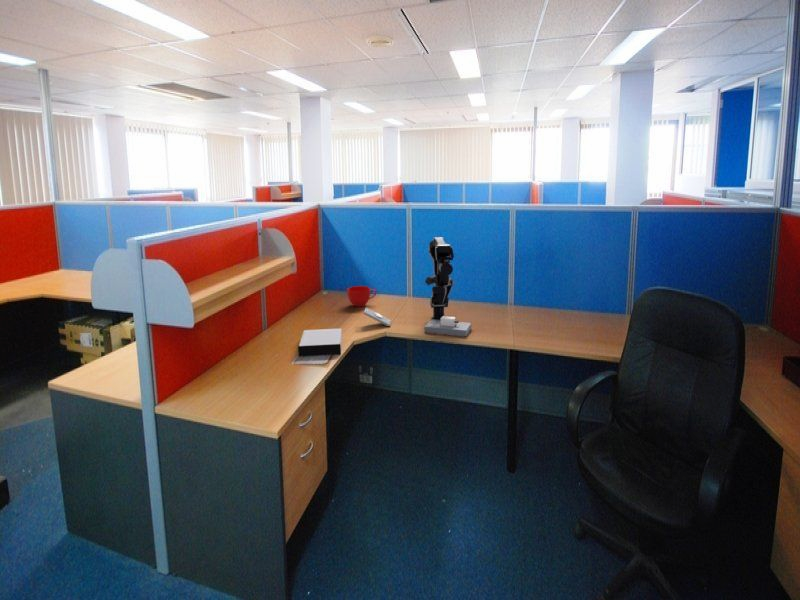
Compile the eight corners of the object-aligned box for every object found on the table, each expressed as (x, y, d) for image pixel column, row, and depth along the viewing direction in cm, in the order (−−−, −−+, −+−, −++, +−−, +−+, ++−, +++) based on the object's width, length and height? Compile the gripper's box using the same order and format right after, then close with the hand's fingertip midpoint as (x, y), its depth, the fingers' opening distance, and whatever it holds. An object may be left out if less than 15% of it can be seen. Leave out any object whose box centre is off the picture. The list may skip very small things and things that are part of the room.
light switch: (391, 323, 237) (364, 310, 235) (385, 333, 238) (359, 320, 237) (392, 318, 245) (366, 305, 244) (386, 328, 246) (361, 315, 245)
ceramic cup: (379, 306, 274) (379, 289, 271) (350, 309, 269) (349, 292, 267) (374, 301, 286) (373, 284, 283) (346, 303, 281) (345, 287, 279)
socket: (431, 325, 239) (431, 318, 238) (471, 328, 232) (471, 322, 231) (424, 332, 228) (424, 325, 227) (465, 336, 221) (466, 329, 220)
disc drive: (298, 357, 200) (297, 346, 199) (304, 339, 222) (303, 329, 221) (341, 355, 202) (340, 344, 201) (342, 338, 224) (342, 327, 222)
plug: (442, 327, 232) (442, 316, 231) (459, 329, 230) (459, 317, 228) (440, 330, 229) (440, 318, 228) (457, 331, 226) (457, 319, 225)
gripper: (432, 265, 239) (432, 296, 243) (421, 274, 222) (421, 306, 226) (454, 267, 235) (453, 297, 239) (444, 275, 218) (444, 308, 223)
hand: (443, 302), depth 232 cm, fingers open, 9 cm apart
